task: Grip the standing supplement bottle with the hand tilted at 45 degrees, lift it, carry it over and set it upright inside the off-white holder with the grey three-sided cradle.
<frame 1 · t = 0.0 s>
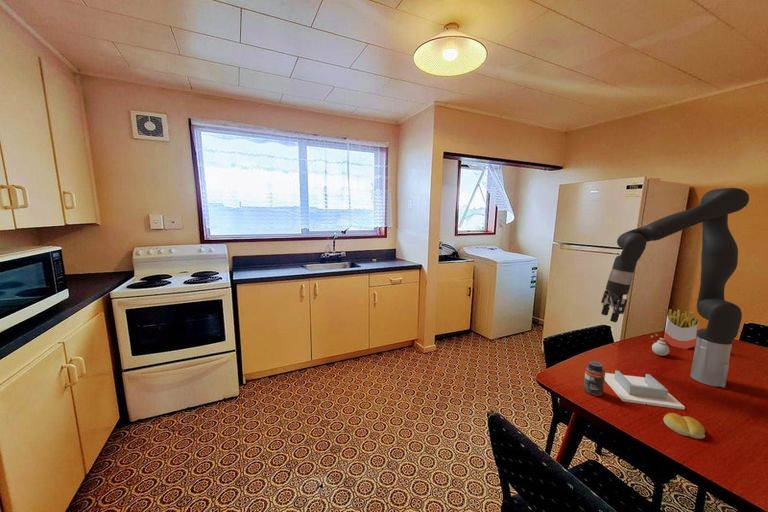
hand: (608, 318, 124), 22 cm above the table, tool pointing down, fingers open, 8 cm apart
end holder: (638, 390, 112), on the table
supplement bottle: (592, 392, 111), on the table
ornament: (657, 354, 140), on the table
bread roll: (683, 429, 92), on the table
french fries container: (678, 346, 149), on the table
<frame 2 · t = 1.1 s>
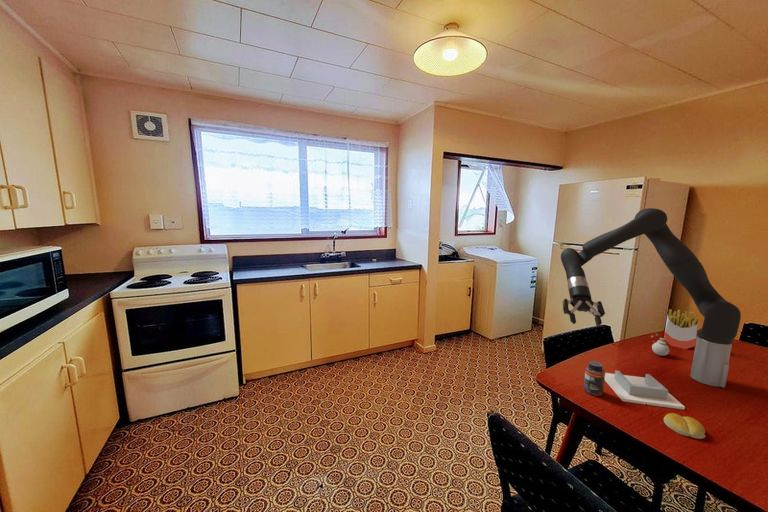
hand: (586, 324, 119), 22 cm above the table, tool tilted 45°, fingers open, 8 cm apart
nothing on the table moved.
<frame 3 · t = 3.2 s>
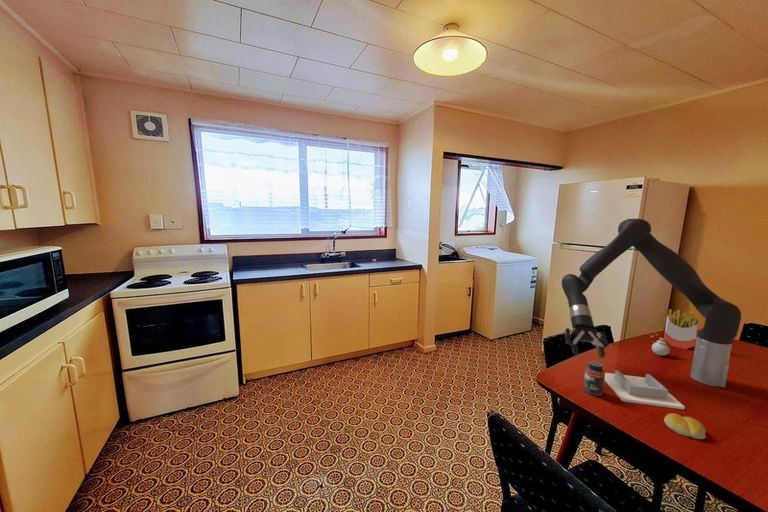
hand: (589, 356, 115), 11 cm above the table, tool tilted 45°, fingers open, 8 cm apart
nothing on the table moved.
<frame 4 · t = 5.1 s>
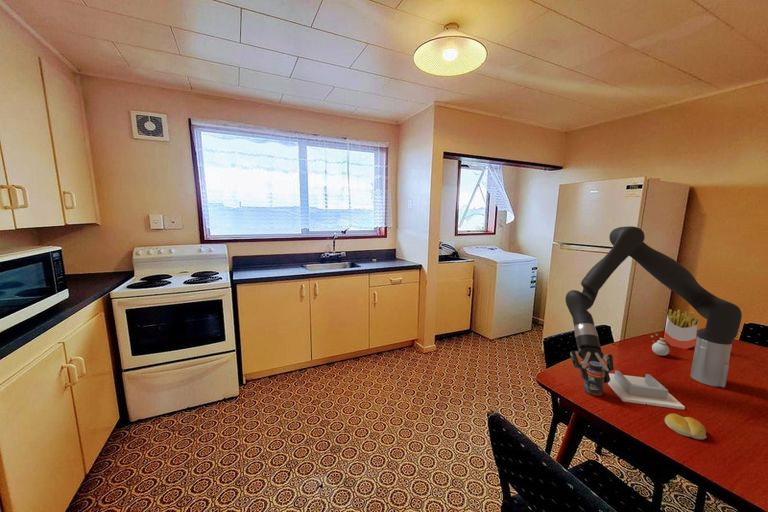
hand: (596, 381, 108), 5 cm above the table, tool tilted 45°, fingers closed on supplement bottle, 6 cm apart
supplement bottle: (592, 392, 111), on the table, touching gripper
everything else where it was.
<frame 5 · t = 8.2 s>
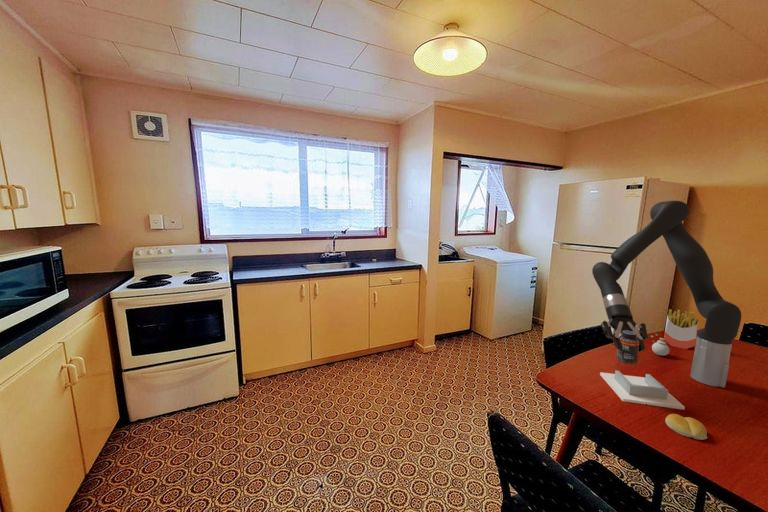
hand: (630, 350, 107), 17 cm above the table, tool tilted 45°, fingers closed on supplement bottle, 6 cm apart
supplement bottle: (626, 362, 109), point 12 cm above the table, touching gripper
everything else where it was.
when the fingers open (8 cm above the table, at t = 11.2 s): supplement bottle drops 1 cm, resting on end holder.
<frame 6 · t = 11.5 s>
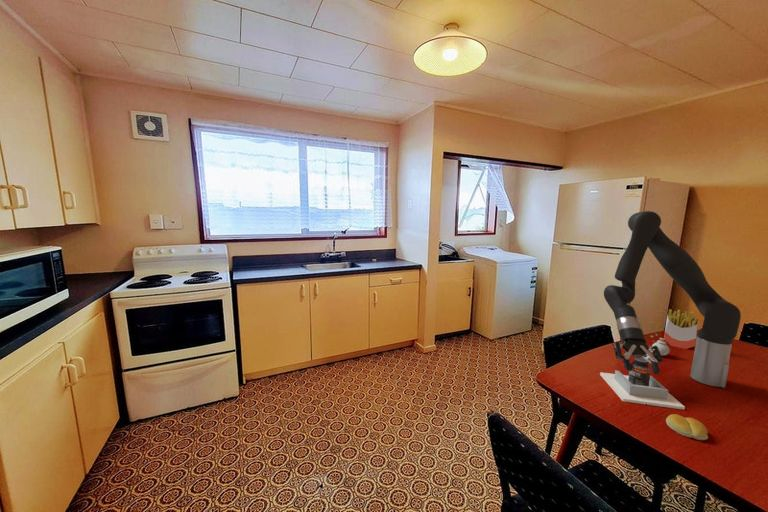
hand: (643, 372, 109), 8 cm above the table, tool tilted 45°, fingers open, 8 cm apart
supplement bottle: (637, 388, 112), point 1 cm above the table, touching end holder
everything else where it was.
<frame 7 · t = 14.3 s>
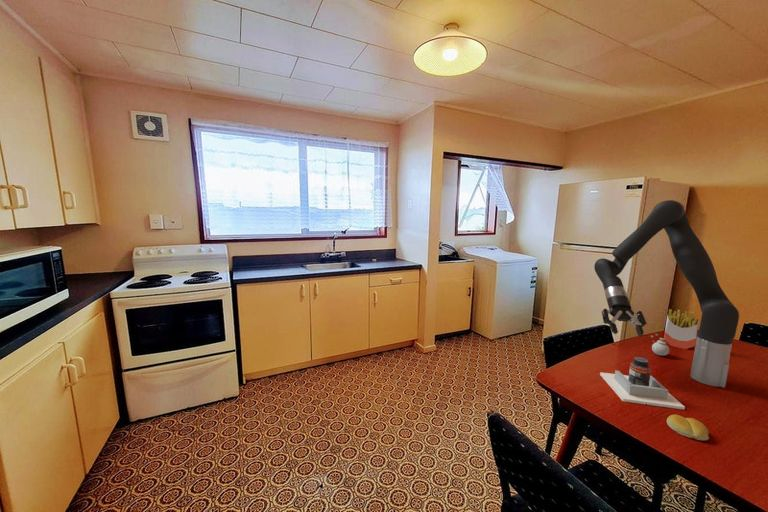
hand: (628, 334, 120), 18 cm above the table, tool tilted 45°, fingers open, 8 cm apart
nothing on the table moved.
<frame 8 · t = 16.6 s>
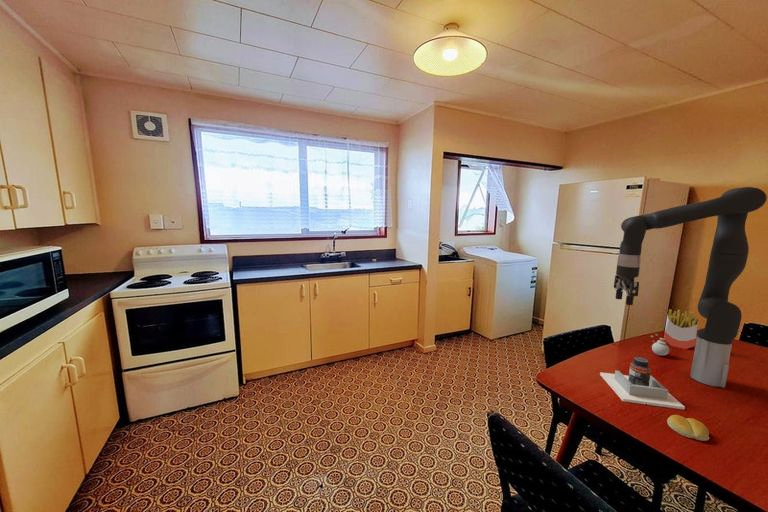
hand: (623, 301, 128), 28 cm above the table, tool pointing down, fingers open, 8 cm apart
nothing on the table moved.
at the end: supplement bottle 0.2 cm off-centre on the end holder, point 0.8 cm above the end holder's base; supplement bottle tilted 0°; the gripper is holding nothing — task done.
